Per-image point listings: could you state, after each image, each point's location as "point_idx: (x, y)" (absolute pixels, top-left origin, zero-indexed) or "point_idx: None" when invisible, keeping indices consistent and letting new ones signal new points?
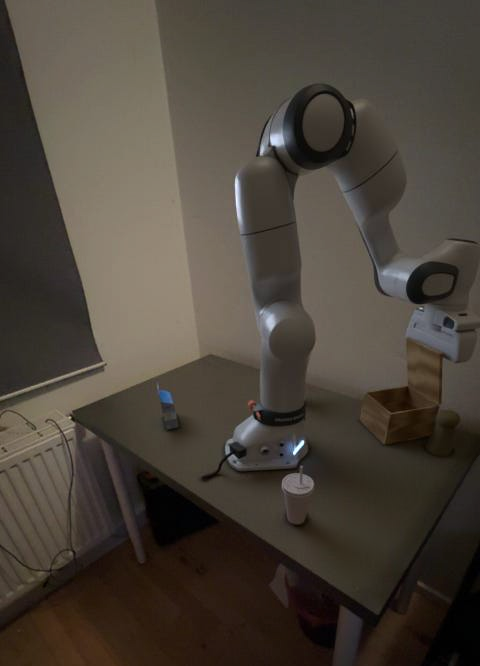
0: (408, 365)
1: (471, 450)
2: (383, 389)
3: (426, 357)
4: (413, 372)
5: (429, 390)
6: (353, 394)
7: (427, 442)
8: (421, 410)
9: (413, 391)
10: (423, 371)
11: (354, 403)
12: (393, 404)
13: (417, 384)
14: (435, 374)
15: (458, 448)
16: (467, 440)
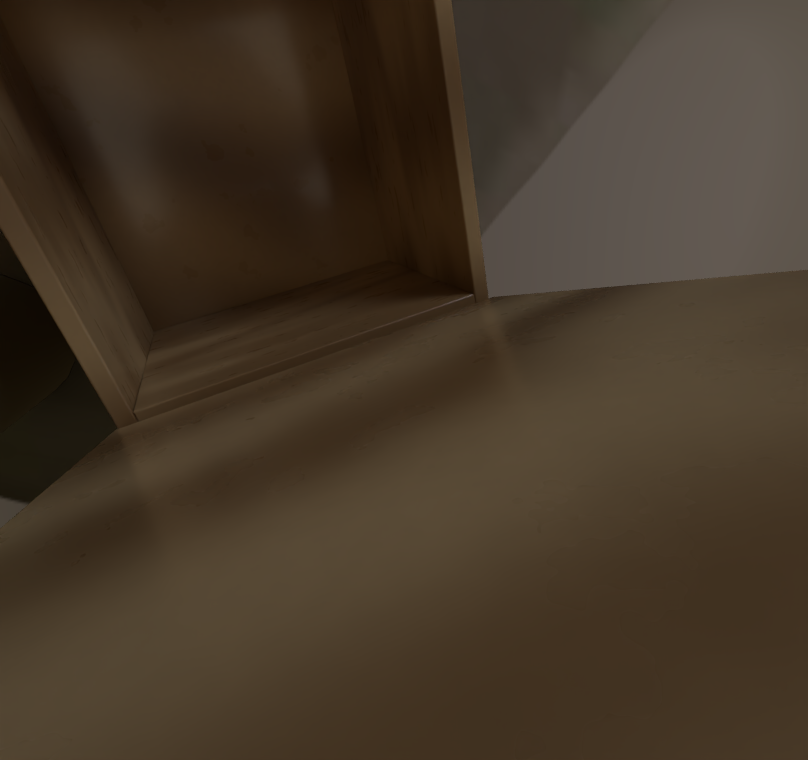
0: (611, 292)
1: (19, 500)
2: (454, 46)
3: (353, 553)
4: (503, 322)
5: (234, 401)
6: (627, 54)
7: (6, 289)
8: (26, 263)
9: (406, 313)
10: (361, 398)
11: (538, 9)
12: (400, 189)
13: (400, 338)
14: (45, 541)
15: (28, 447)
16: None
